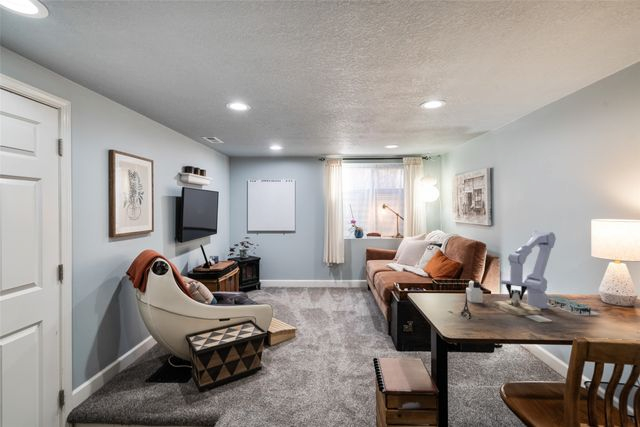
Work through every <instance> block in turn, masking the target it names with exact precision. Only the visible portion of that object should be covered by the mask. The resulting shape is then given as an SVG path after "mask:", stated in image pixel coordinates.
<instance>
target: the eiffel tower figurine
mask: <svg viewBox="0 0 640 427" xmlns="http://www.w3.org/2000/svg"><path fill="white" fill-rule="evenodd" d="M447 312H448V313H451V314H452V315H454V316H457V317H459V318H461V319H464V320H467V319H468V318H467V317H466V316H467V314H469V318H471V314H472V313H471V312H470V309H469V305H468V300H467V292H466V291H465V302H464V307H463V308H462V310H461V312H460V314H454V311H451V310H447Z"/></svg>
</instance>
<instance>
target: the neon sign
mask: <svg viewBox="0 0 640 427" xmlns="http://www.w3.org/2000/svg"><path fill="white" fill-rule="evenodd" d="M548 298H549V297H548ZM548 300H549V301H548V302H547V306H548V307H549V306H550V307H553V306H554V305H556V304H561V305H558V307H555V308H556V309H558V308H559V310H562V311H565V312H566V313H567V312H568V313H570V314H573V315H577V316H597V315H598V316H599V315H600V313H599V312H597V309H595V308H592V306H590V305H587V304H584V303H580V302H577V301H573V300H570V299H569V300H568V298H562V297H550V298H549V299H548ZM551 301H554V303H555V304H554V305H551V304H550V303H552V302H551ZM564 303H565V304H564ZM566 303H568V304H566ZM593 310H594V311H593ZM608 310H613V308H607V309H605V311H608Z"/></svg>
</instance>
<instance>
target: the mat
mask: <svg viewBox="0 0 640 427" xmlns="http://www.w3.org/2000/svg"><path fill="white" fill-rule="evenodd" d="M524 317H525V318H527V319H529V320H530V319H531V320H532V321H535V322H537V323H548V322H553V320H552V319H549V318H547V317H544V316H541V315H540V314H533V315H524Z"/></svg>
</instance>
